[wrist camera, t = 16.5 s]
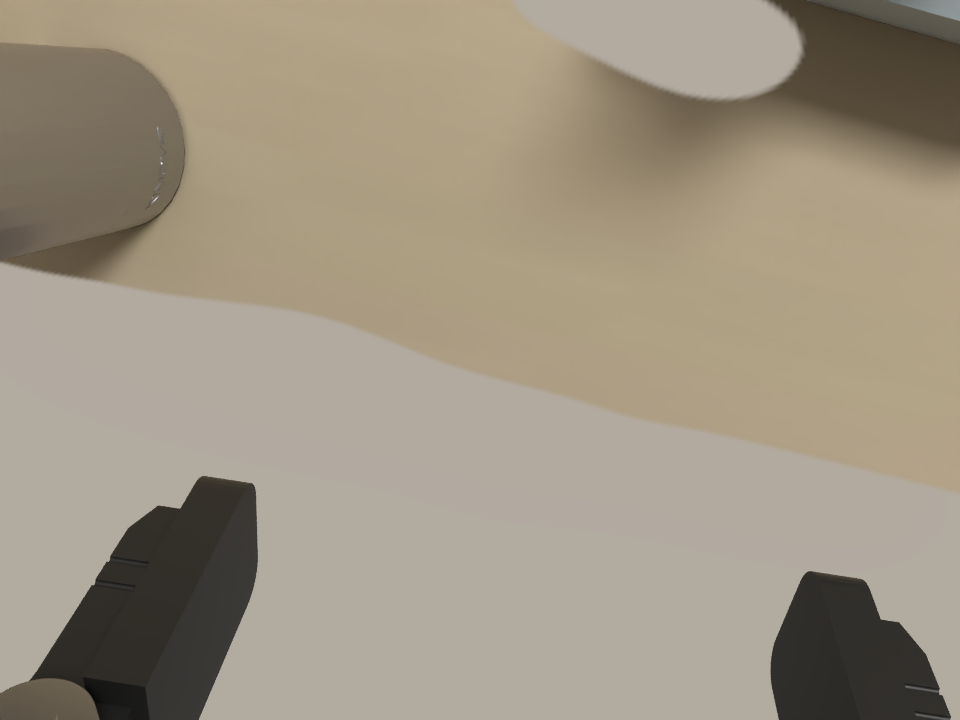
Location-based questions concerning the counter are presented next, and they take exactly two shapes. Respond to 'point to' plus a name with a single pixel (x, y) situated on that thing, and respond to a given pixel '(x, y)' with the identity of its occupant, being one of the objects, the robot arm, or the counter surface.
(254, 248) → the counter surface
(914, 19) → the tote
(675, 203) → the counter surface
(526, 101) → the counter surface
